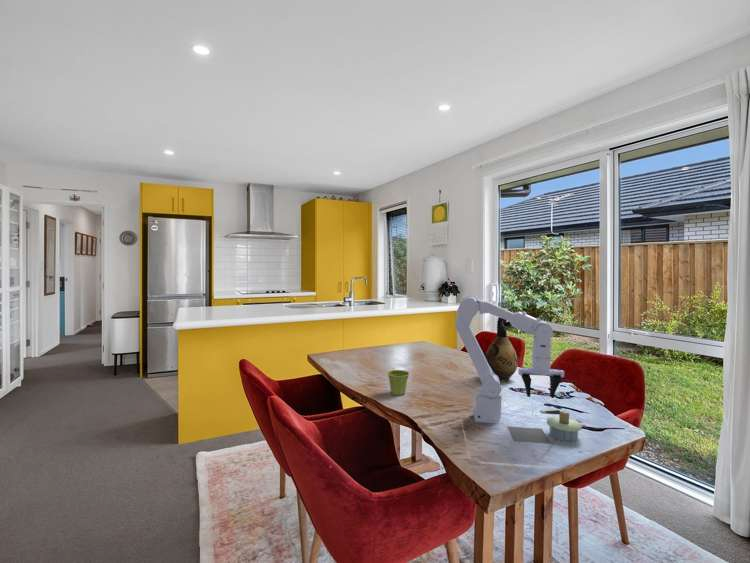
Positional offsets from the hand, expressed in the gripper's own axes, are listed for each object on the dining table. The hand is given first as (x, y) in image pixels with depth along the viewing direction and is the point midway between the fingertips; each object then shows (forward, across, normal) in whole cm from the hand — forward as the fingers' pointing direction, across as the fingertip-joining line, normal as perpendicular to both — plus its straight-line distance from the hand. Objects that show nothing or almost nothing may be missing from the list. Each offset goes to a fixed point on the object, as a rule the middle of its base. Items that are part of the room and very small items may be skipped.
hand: (540, 396), depth 137 cm
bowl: (+10, +5, -9) cm, 14 cm away
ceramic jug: (+10, -3, +57) cm, 58 cm away
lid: (+6, +5, -9) cm, 12 cm away
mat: (+10, -6, -10) cm, 15 cm away
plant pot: (+10, -50, +26) cm, 57 cm away
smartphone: (+10, +10, +8) cm, 17 cm away
